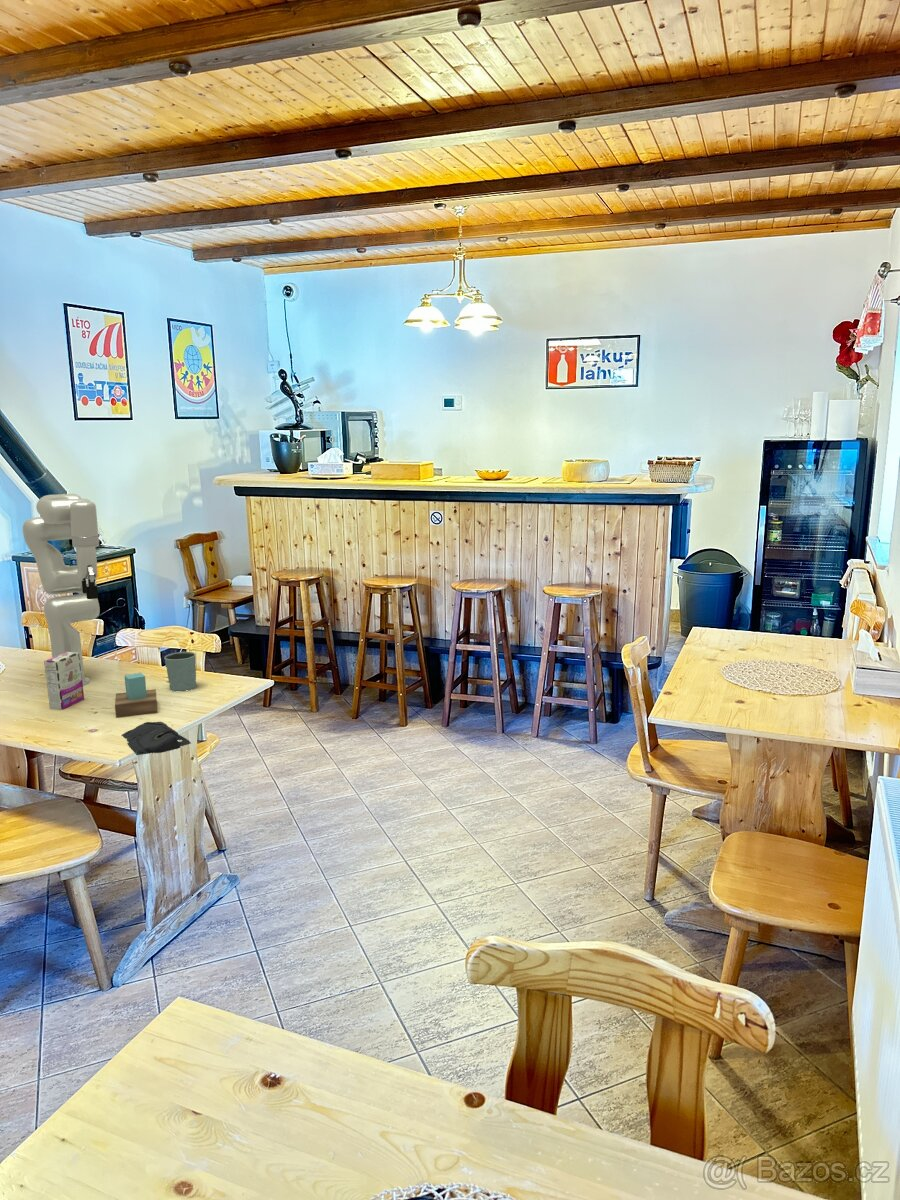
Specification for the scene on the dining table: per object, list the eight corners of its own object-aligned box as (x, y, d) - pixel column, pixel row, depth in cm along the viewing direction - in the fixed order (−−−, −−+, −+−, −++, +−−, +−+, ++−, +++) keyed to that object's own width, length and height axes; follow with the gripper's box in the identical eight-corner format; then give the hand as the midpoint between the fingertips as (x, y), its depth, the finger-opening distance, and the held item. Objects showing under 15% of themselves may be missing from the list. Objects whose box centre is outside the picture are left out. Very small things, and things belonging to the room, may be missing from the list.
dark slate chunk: (170, 726, 239) (168, 711, 238) (194, 749, 222) (193, 733, 221) (116, 738, 231) (115, 722, 230) (137, 762, 213) (136, 745, 212)
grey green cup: (201, 690, 272) (198, 656, 270) (170, 695, 267) (167, 660, 265) (193, 682, 281) (191, 650, 279) (164, 687, 276) (161, 654, 274)
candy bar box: (71, 699, 264) (66, 651, 261) (85, 699, 263) (80, 652, 260) (48, 710, 253) (43, 660, 250) (62, 711, 252) (57, 661, 249)
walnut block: (117, 708, 256) (115, 693, 255) (156, 703, 260) (155, 689, 259) (116, 720, 245) (114, 704, 244) (157, 715, 249) (156, 700, 248)
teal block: (126, 696, 252) (124, 675, 250) (142, 693, 255) (140, 672, 253) (130, 700, 248) (128, 679, 246) (146, 697, 251) (145, 676, 249)
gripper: (69, 538, 251) (73, 591, 255) (75, 546, 237) (80, 602, 240) (94, 537, 255) (99, 589, 259) (102, 544, 240) (107, 599, 244)
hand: (90, 595), depth 250 cm, fingers open, 9 cm apart
